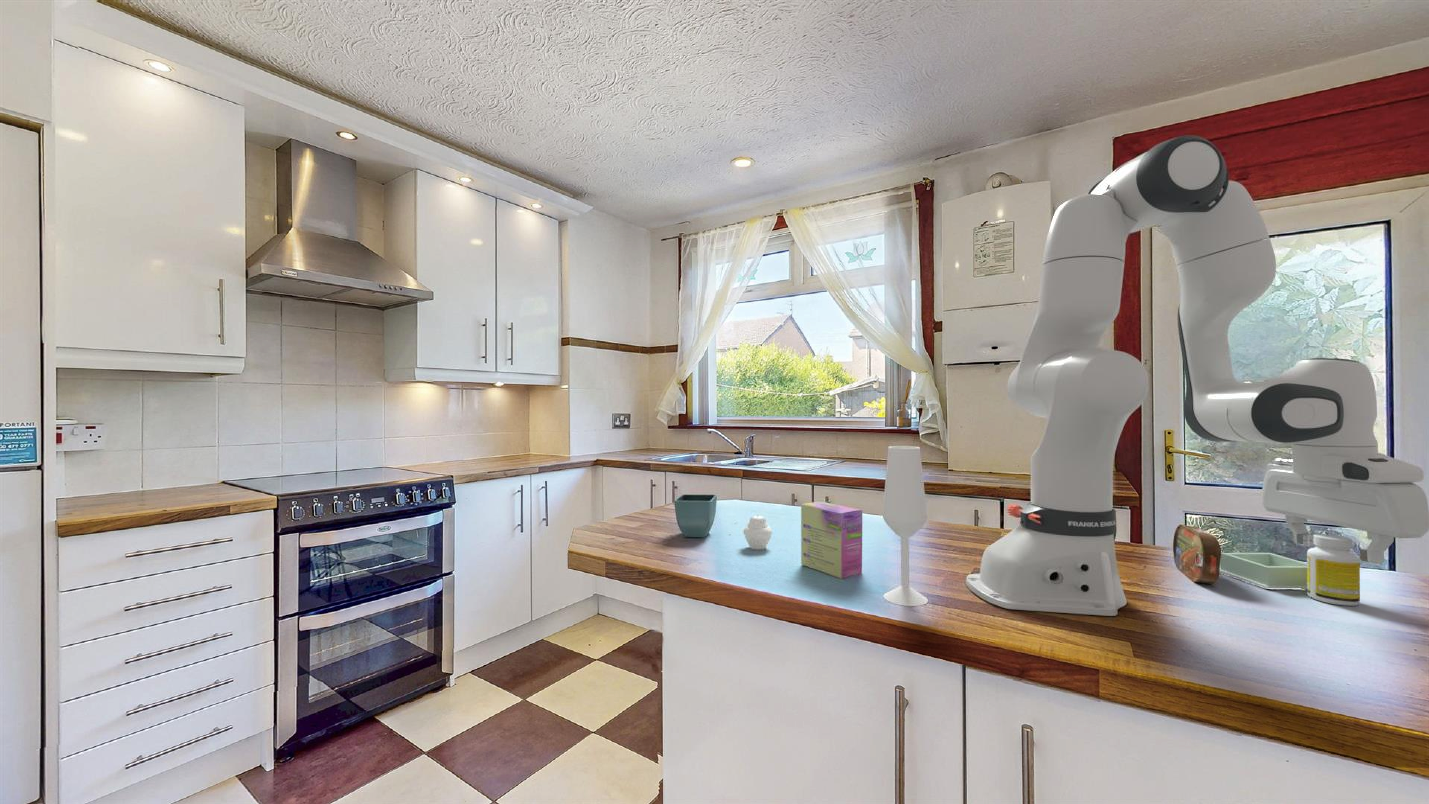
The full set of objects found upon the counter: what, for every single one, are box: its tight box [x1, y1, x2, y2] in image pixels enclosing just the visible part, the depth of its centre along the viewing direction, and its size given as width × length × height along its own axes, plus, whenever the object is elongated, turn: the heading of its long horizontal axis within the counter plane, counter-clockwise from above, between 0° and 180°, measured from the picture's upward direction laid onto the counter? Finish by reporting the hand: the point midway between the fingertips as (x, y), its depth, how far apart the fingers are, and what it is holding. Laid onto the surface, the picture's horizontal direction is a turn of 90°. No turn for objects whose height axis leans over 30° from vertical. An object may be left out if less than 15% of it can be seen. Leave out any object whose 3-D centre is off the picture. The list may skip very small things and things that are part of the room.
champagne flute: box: [882, 445, 929, 607], centre depth 87 cm, size 7×7×24 cm
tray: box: [1219, 552, 1307, 589], centre depth 93 cm, size 9×9×4 cm
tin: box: [1172, 524, 1222, 585], centre depth 96 cm, size 15×3×8 cm, turn 154°
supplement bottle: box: [1306, 533, 1361, 607], centre depth 84 cm, size 5×5×10 cm
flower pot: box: [673, 493, 718, 539], centre depth 129 cm, size 9×9×9 cm
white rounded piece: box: [743, 514, 773, 551], centre depth 117 cm, size 6×6×7 cm
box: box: [800, 500, 863, 580], centre depth 102 cm, size 10×6×12 cm, turn 34°
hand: (1336, 553), depth 84 cm, fingers open, 8 cm apart
